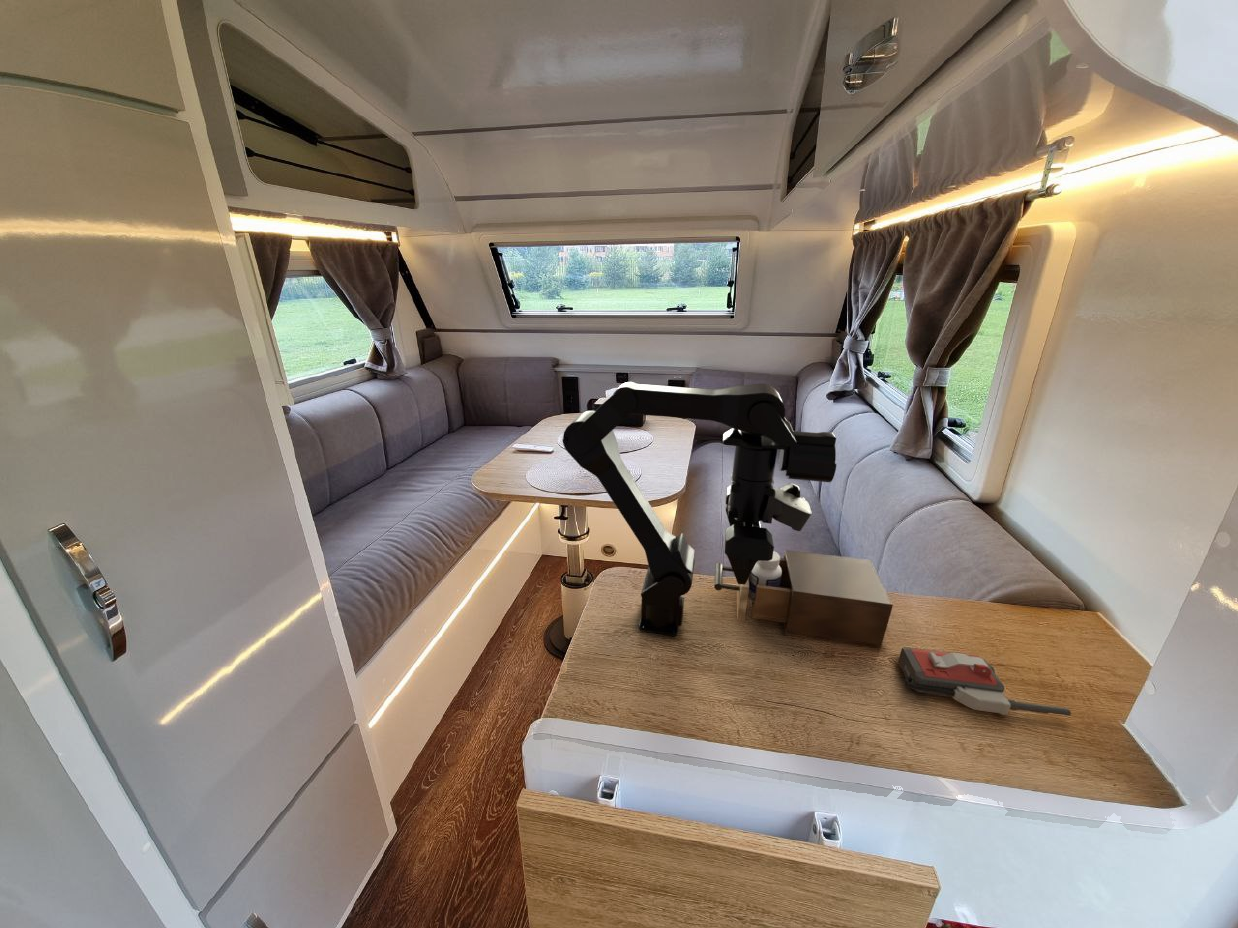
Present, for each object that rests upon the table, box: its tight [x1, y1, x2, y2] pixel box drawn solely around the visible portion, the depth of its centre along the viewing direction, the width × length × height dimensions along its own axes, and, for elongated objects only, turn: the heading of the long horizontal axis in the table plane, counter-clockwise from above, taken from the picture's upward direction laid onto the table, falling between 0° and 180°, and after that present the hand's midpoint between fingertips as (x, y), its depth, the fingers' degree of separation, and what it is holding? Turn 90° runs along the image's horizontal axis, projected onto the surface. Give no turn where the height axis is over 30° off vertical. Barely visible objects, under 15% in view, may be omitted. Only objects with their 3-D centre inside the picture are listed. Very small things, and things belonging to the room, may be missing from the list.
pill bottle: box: [748, 550, 782, 603], centre depth 82 cm, size 5×5×9 cm
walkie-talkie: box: [897, 646, 1072, 716], centre depth 67 cm, size 9×4×20 cm
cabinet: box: [783, 549, 894, 650], centre depth 81 cm, size 15×13×9 cm
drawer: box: [713, 557, 792, 624], centre depth 83 cm, size 18×11×7 cm, turn 78°
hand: (740, 566), depth 74 cm, fingers open, 9 cm apart
